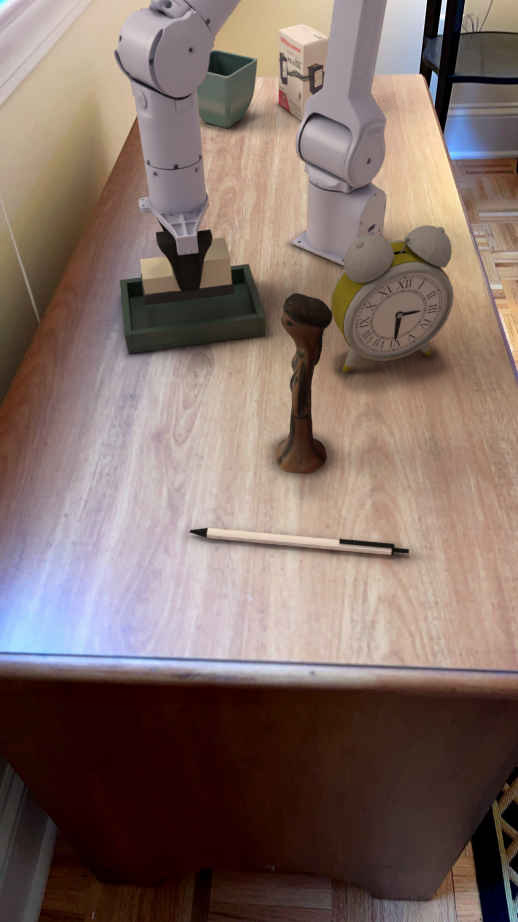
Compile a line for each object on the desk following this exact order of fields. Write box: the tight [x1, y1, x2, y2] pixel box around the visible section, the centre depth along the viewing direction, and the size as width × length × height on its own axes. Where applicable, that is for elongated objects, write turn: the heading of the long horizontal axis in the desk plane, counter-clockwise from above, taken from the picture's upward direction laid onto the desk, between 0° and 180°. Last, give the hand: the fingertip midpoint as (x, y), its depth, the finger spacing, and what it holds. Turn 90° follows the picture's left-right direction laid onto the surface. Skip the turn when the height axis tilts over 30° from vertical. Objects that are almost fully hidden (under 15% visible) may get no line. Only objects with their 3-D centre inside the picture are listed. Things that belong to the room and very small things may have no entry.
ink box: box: [277, 23, 329, 122], centre depth 113 cm, size 8×5×12 cm, turn 28°
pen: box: [187, 527, 410, 556], centre depth 59 cm, size 1×19×1 cm, turn 82°
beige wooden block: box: [139, 236, 234, 305], centre depth 76 cm, size 10×4×5 cm, turn 101°
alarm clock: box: [330, 224, 454, 373], centre depth 70 cm, size 12×7×15 cm, turn 105°
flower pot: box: [197, 49, 258, 129], centre depth 112 cm, size 9×9×9 cm
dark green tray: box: [119, 263, 266, 355], centre depth 80 cm, size 16×11×3 cm
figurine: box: [275, 292, 333, 474], centre depth 60 cm, size 7×5×18 cm
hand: (187, 276), depth 77 cm, fingers closed on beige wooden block, 4 cm apart
